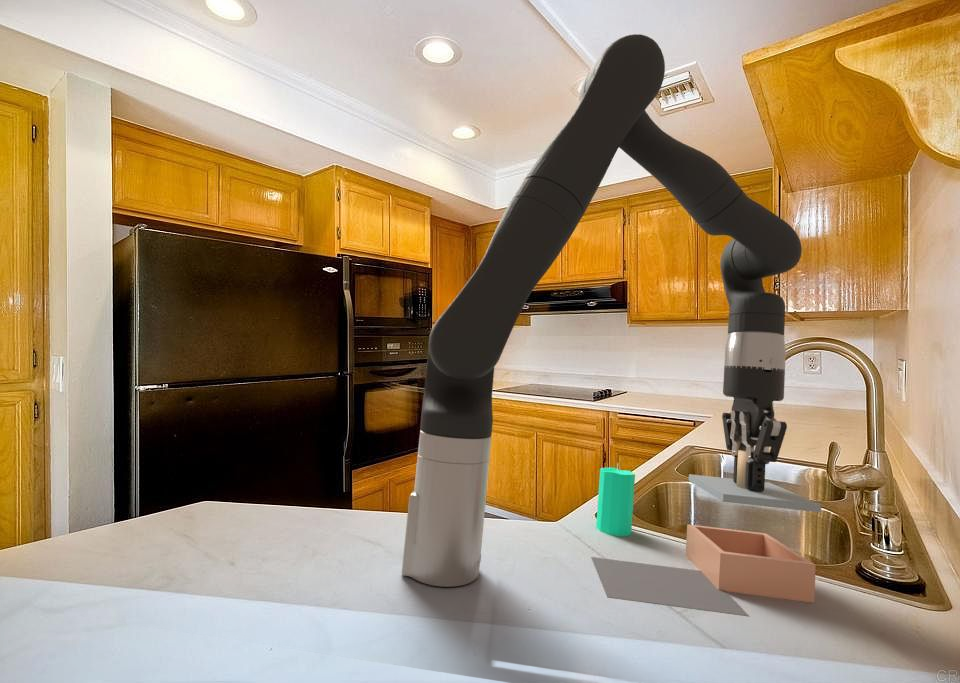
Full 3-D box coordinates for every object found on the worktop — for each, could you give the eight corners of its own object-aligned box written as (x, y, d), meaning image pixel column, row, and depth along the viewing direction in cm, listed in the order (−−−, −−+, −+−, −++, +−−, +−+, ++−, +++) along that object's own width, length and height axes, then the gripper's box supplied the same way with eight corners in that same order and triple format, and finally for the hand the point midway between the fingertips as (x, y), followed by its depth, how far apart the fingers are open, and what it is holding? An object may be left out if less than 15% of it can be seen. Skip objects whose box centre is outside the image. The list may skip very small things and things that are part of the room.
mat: (607, 600, 54) (607, 596, 54) (590, 559, 66) (591, 556, 66) (749, 619, 52) (749, 615, 52) (706, 574, 64) (706, 571, 64)
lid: (722, 501, 59) (725, 454, 59) (688, 480, 71) (690, 441, 71) (821, 512, 58) (822, 464, 58) (769, 489, 70) (771, 449, 70)
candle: (626, 541, 75) (631, 467, 76) (590, 531, 78) (596, 460, 79) (635, 532, 80) (639, 463, 81) (601, 523, 83) (606, 457, 84)
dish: (718, 593, 58) (720, 553, 59) (685, 557, 70) (687, 524, 70) (814, 605, 57) (815, 564, 58) (764, 567, 69) (766, 533, 69)
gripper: (706, 365, 73) (700, 474, 72) (751, 362, 59) (744, 497, 58) (755, 369, 72) (750, 479, 71) (812, 367, 58) (807, 504, 57)
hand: (748, 486), depth 64 cm, fingers closed on lid, 3 cm apart
